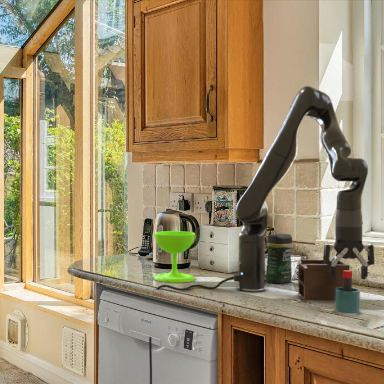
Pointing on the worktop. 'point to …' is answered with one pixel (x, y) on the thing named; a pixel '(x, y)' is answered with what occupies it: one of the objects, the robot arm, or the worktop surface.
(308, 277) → the dark wooden crate
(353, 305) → the pen cup
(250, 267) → the robot arm
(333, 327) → the worktop surface
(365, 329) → the worktop surface
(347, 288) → the marker
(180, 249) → the wineglass
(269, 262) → the coffee jar
